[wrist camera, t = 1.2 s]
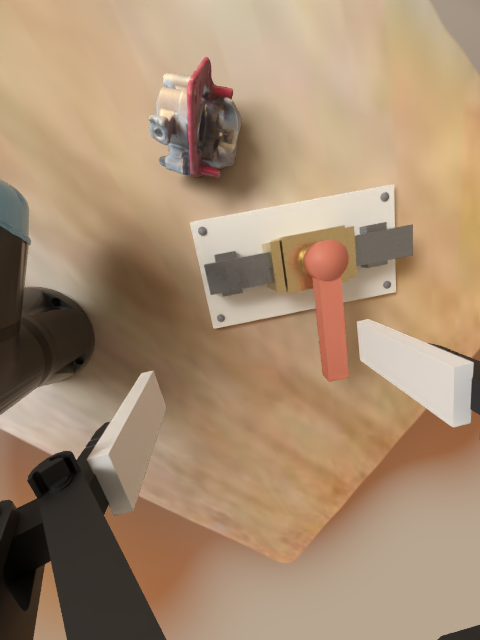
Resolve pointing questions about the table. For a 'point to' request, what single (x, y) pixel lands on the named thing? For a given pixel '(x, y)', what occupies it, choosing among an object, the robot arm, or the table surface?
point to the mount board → (286, 220)
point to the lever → (329, 304)
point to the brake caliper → (196, 123)
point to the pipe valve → (287, 256)
